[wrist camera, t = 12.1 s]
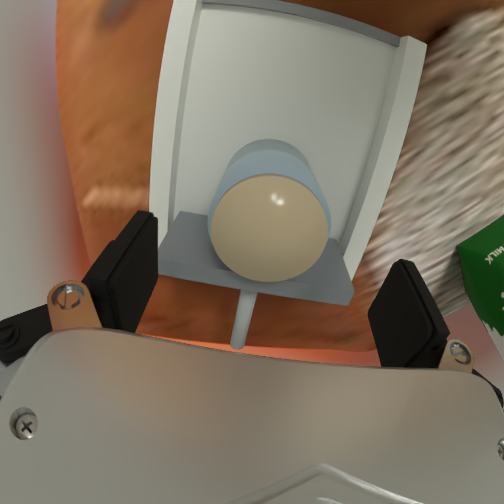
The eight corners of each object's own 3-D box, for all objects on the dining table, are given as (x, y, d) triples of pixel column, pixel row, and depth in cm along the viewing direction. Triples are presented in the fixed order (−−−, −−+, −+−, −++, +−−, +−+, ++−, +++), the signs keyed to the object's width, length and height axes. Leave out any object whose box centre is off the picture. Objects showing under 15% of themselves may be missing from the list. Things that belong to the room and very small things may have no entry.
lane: (186, -5, 15) (174, -16, 12) (412, 46, 16) (431, 44, 13) (157, 247, 26) (146, 266, 23) (339, 279, 27) (346, 300, 24)
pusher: (179, 210, 23) (153, 257, 17) (336, 239, 23) (354, 291, 18) (175, 299, 28) (157, 352, 22) (304, 321, 28) (310, 376, 23)
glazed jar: (232, 131, 20) (213, 160, 13) (322, 149, 20) (350, 189, 13) (219, 212, 23) (199, 274, 16) (300, 227, 24) (312, 294, 17)
